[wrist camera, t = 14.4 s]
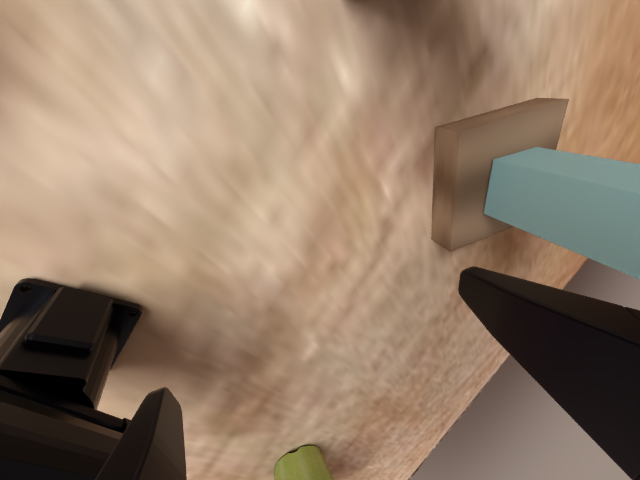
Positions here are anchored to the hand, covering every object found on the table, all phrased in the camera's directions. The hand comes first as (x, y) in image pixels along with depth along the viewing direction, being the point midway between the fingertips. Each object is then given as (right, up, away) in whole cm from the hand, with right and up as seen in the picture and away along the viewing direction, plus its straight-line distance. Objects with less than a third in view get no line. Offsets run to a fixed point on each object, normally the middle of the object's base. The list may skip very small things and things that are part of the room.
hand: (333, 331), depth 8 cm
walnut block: (+14, +9, +17) cm, 24 cm away
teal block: (+15, +7, +15) cm, 22 cm away
